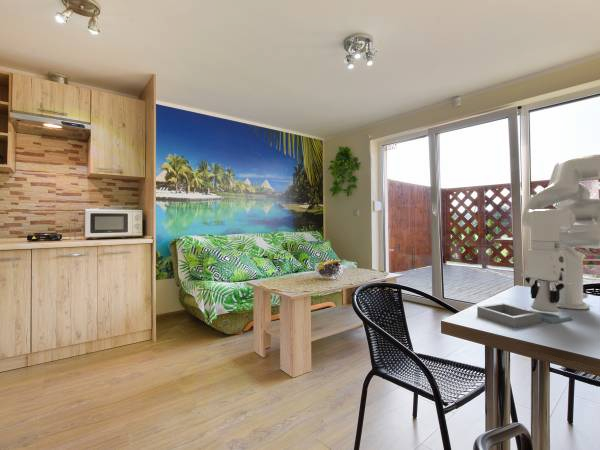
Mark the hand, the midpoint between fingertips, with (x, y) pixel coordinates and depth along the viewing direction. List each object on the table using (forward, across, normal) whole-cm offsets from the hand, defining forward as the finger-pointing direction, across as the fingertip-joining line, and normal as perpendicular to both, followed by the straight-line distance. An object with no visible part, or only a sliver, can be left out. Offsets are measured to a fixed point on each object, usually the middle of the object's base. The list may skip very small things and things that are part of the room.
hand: (544, 299), depth 99 cm
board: (+6, 0, 0) cm, 6 cm away
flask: (+4, 0, 0) cm, 4 cm away
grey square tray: (+6, +3, +13) cm, 15 cm away
